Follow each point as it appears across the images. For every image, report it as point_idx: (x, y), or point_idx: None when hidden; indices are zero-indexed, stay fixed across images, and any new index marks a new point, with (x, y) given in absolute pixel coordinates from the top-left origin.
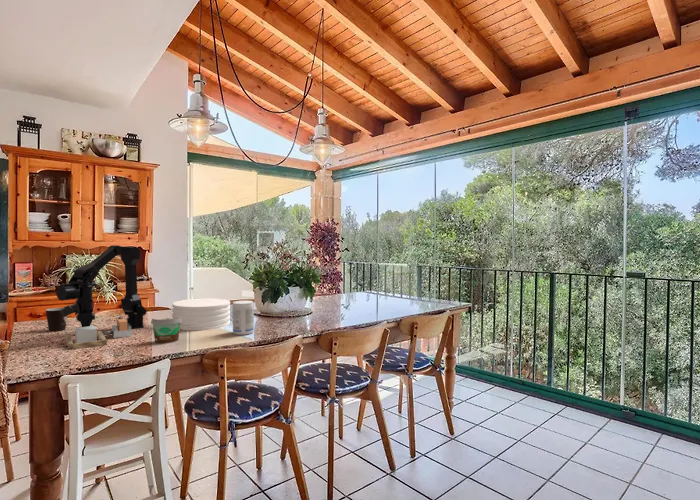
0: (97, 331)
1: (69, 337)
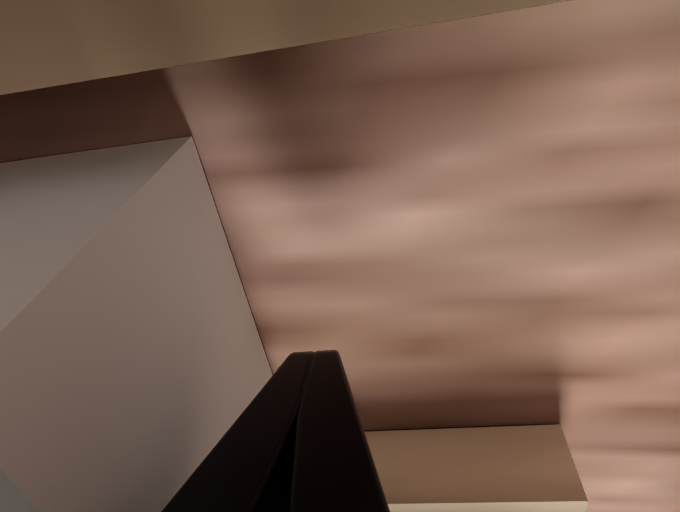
0: (578, 502)
1: (110, 22)
